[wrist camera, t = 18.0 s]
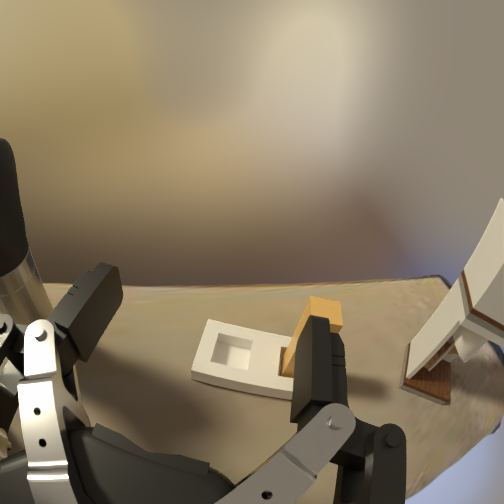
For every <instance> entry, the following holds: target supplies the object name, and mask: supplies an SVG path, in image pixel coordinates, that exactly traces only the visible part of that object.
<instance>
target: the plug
mask: <svg viewBox="0 0 504 504" xmlns="http://www.w3.org/2000/svg"><path fill="white" fill-rule="evenodd" d="M310 315H314V316H319V317H325V318H329V321H330V332H333V333H339V331H340V329H341V328H342V326H343V323H342V314H341V305H340V302H337V301H332V300H328V299H323V298H318V297H313V296H310V299H309V301H308V303H307V306H306V308H305V310H304V312H303V315H302V317H301V319H300V321H299V324H298V326H297V328H296V330H295V332H294V334H293V337H292V339H291V341H290V343H289V345H288V347H287V349H286V351H285V353H284V356H283V358H282V361H281V370H280V376H282V377H288V378H294V365H295V350H296V345H297V341H298V338H299V336H300V334H301V332H302V330H303V328H304V326H305V323H306V321H307V319H308V317H309V316H310Z"/></svg>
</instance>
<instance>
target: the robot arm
mask: <svg viewBox="0 0 504 504" xmlns="http://www.w3.org/2000/svg"><path fill="white" fill-rule="evenodd" d="M122 299H123V290H122V285H121V280H120V275H119V270H118V268H117V267H116V266H112V265H109V264H106V263H99V264H98V265H97V267H96V268H95V269H94V270H93V271H92V272H91V271H88V272H87V273H85V274H84V275H82V276H80V277H79V278H78V280H77V281H76V282H75V283H74V284H73V287H71V288H70V289H69V291H68V292H67V294H65V296H64V297H63V298H62V299H61V301H60V302H59V303H58V305H57V306H56V307H55V309H53V307H52V305H51V303H50V300H49V298H48V296H47V293H46V291H45V289H44V286H43V284H42V281H41V279H40V276H39V273H38V271H37V268H36V266H35V263H34V260H33V257H32V254H31V251H30V248H29V245H28V241H27V238H26V232H25V223H24V217H23V212H22V207H21V203H20V196H19V189H18V181H17V173H16V164H15V159H14V155H13V151H12V148H11V146H10V145H9V143H8V142H7V141H6V140H5V139H2V138H0V312H1V314H0V366H1V364H2V362H3V360H4V358H5V357H7V358H8V362H7V364H6V366H5V368H4V369H3V371H2V373H1V375H0V504H293V503H294V502H295V501H297V500H298V499H299V498H300V497H301V496H302V495H303V494H304V493H305V492H306V491H307V490H308V489H309V488H310V487H311V486H312V484H313V483H314V482H315V480H316V478H317V477H316V476H317V474H318V473H319V472H320V471H321V470H322V469H323V467H324V466H325V465H326V464H327V463H328V462H331V463H334V464H337V465H338V472H337V480H336V488H335V495H334V501H333V504H405V492H406V437H405V434H404V432H403V430H402V429H401V428H400V427H399V426H397V425H395V424H384V425H382V426H381V427H377V426H374V425H371V424H368V423H366V422H363V421H361V420H359V419H357V418H356V417H355V416H354V414H353V412H352V411H351V410H350V409H349V406H348V401H347V380H346V368H345V366H346V364H345V351H344V344H343V342H342V340H341V338H340V336H339V334H338V333H333V332H330V321H329V318H325V317H319V316H314V315H310V316H309V317H308V319H307V321H306V323H305V326H304V328H303V330H302V332H301V334H300V336H299V338H298V341H297V345H296V350H295V365H294V379H293V392H292V404H291V415H290V423H298V427H297V432H296V433H295V434H294V435H293V436H292V437H291V438H290V439H289V440H288V441H287V442H286V443H285V444H284V445H283V446H282V447H280V448H279V449H278V450H277V451H276V452H275V453H274V454H273V455H272V456H270V457H269V458H268V459H267V460H266V461H265V462H263V463H262V464H261V465H260V466H258V467H257V468H256V469H255V470H253V471H252V472H251V473H250V474H248V475H247V476H246V477H245V478H243V479H242V480H241V481H239V482H238V483H237V484H235V485H234V484H233V483H232V482H231V481H230V480H229V479H228V478H227V477H226V476H224V475H223V474H222V473H220V472H219V471H217V470H215V469H213V468H211V467H209V465H210V463H208V462H204V461H200V460H196V459H192V458H188V457H185V456H181V455H171V454H160V453H150V452H147V451H145V450H143V449H142V448H140V447H139V446H137V445H136V444H134V443H133V442H131V441H130V440H129V439H127V438H126V437H124V436H123V435H122V434H119V433H117V432H115V431H113V430H110V429H108V428H106V427H104V426H102V425H100V424H98V423H96V425H95V427H91V424H90V421H89V418H88V415H87V413H86V411H85V409H84V407H83V404H82V400H81V395H80V389H79V384H78V378H77V371H76V366H75V362H76V361H77V359H79V360H82V361H84V362H87V360H88V358H89V357H90V355H91V353H92V351H93V350H94V348H95V346H96V344H97V343H98V341H99V339H100V338H101V336H102V334H103V333H104V331H105V329H106V328H107V326H108V324H109V323H110V321H111V320H112V318H113V316H114V315H115V313H116V311H117V310H118V308H119V307H120V305H121V303H122ZM18 406H19V407H20V417H21V425H22V432H23V438H24V444H25V450H23V451H21V452H18V453H16V454H13V455H11V456H9V457H8V456H7V451H9V450H10V449H11V443H10V441H9V440H8V437H7V432H8V430H9V427H10V425H11V422H12V420H13V417H14V415H15V413H16V410H17V408H18Z"/></svg>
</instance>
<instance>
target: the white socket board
mask: <svg viewBox="0 0 504 504" xmlns="http://www.w3.org/2000/svg"><path fill="white" fill-rule="evenodd" d="M291 339H292V337H287V336H282V335H277V334H272V333H267V332H262V331H258V330H253V329H248V328H244V327H240V326H235V325H231V324H227V323H223V322H218V321H214V320H210V319H208V321H207V324H206V327H205V330H204V333H203V336H202V339H201V342H200V345H199V347H198V350H197V353H196V356H195V359H194V362H193V365H192V368H191V379H193V380H197V381H200V382H204V383H208V384H212V385H216V386H220V387H224V388H229V389H233V390H238V391H243V392H248V393H253V394H258V395H263V396H269V397H275V398H281V399H288V400H292V392H293V379H294V378H288V377H282V376H280V370H281V361H282V358H283V356H284V353H285V351H286V349H287V347H288V345H289V343H290V341H291Z"/></svg>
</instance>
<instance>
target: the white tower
mask: <svg viewBox="0 0 504 504" xmlns="http://www.w3.org/2000/svg"><path fill="white" fill-rule="evenodd" d="M487 340H490V341H492V342H494V343H496V344H498V345H500V346H502V347H503V348H504V199H502V198H500V201H499V203H498V205H497V208H496V210H495V212H494V214H493V216H492V218H491V220H490V222H489V224H488V226H487V228H486V230H485V232H484V234H483V236H482V238H481V240H480V242H479V244H478V245H477V247H476V249H475V251H474V252H473V254H472V256H471V258H470V259H469V261H468V263H467V264H466V266H465V268H464V269H463V271H462V273H461V274H460V276H459V277H458V279H457V280H456V282H455V283H454V285H453V286H452V288H451V289H450V291H449V292H448V294H447V295H446V297H445V298H444V300H443V301H442V302H441V304H440V305H439V306H438V308H437V309H436V311H435V312H434V313H433V315H432V316H431V317H430V319H429V320H428V321H427V322H426V324H425V325H424V326H423V327H422V329H421V330H420V331H419V332H418V334H417V335H416V336H415V337H414V338H413V340H412V341H411V342H410V343H409V344H408V346H407V347H406V349H405V356H404V363H403V369H402V375H401V380H400V386H399V388H401V389H403V390H405V391H408V392H410V393H413V394H415V395H418V396H420V397H423V398H426V399H428V400H431V401H433V402H436V403H439V404H441V405H443V404H445V403H446V402H447V401H449V395H450V363H451V362H452V361H453V360H454V359H455V358H456V357H457V356H458V355H459V356H460V358H461V359H462V361H463V362H464V363H466V362H467V361H468V360H469V359H470V358H471V357H472V356H473V355H474V354H475V353H476V352H477V351H478V350H479V349H480V348H481V347H482V346H483V345H484V344H485V343H486V342H487Z"/></svg>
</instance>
